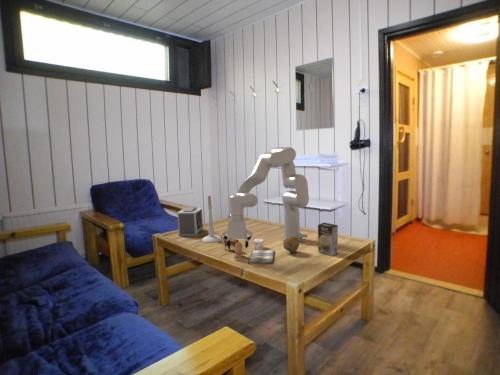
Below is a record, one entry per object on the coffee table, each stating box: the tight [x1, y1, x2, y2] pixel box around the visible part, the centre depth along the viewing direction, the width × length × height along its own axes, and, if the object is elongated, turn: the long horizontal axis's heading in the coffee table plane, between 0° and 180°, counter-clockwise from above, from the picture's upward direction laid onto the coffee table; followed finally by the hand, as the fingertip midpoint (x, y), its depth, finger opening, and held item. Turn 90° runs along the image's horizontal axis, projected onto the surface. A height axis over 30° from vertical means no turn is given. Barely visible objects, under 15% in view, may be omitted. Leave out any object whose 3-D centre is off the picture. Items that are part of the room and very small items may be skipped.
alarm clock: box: [176, 207, 204, 237], centre depth 222 cm, size 18×13×18 cm
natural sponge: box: [282, 235, 300, 254], centre depth 171 cm, size 9×9×10 cm
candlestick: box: [201, 195, 222, 244], centre depth 201 cm, size 13×13×30 cm
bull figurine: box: [220, 235, 240, 253], centre depth 181 cm, size 4×13×8 cm, turn 51°
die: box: [253, 238, 264, 250], centre depth 182 cm, size 5×5×5 cm
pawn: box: [234, 241, 244, 258], centre depth 170 cm, size 5×5×8 cm
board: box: [247, 249, 275, 264], centre depth 167 cm, size 13×18×1 cm
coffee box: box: [317, 222, 339, 257], centre depth 168 cm, size 9×6×16 cm
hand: (237, 247), depth 169 cm, fingers open, 9 cm apart
